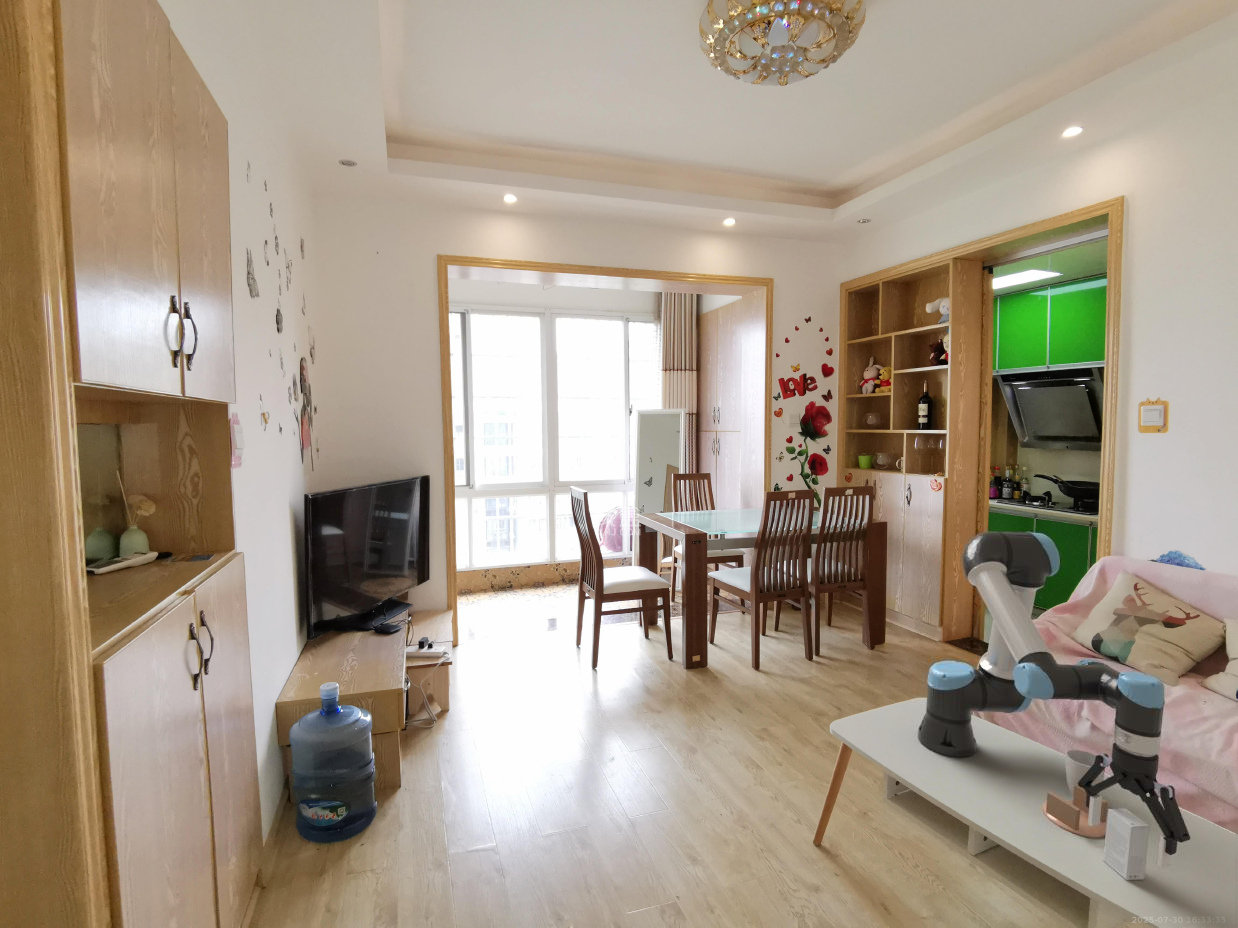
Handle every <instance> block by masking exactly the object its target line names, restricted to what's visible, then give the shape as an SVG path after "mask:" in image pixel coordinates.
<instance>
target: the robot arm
mask: <svg viewBox="0 0 1238 928" xmlns="http://www.w3.org/2000/svg"><path fill="white" fill-rule="evenodd" d="M1060 558H1061V557H1060V553H1059V550H1058V548H1057V546H1056V544H1055V543H1054V541H1053V539H1051V537H1049V536H1047V535H1046V534H1044V533H1040V532H1031V531H1024V532H1023V531H992V530H991V531H989V530H988V531H984V532H981V533H978V534H976V535H974V536H973V537H972V538H971V539H970V540H969V541H968V542H967V543H966V545H965V547H964V548H963V552H962V556H961V564H962V569H963V573H964V575H965V576H966V579H967V581H968V583H969V584H970V585H972V586H974V587H976V590H977V591H978V594H979V595H980V597H981V598H982V601H983V602H984V604H985V605H986V607H987V610H988V612H989V613H990V615H991V618H992V625H991V629H990V630H991V631H990V635H989V642H988V648H987V653H986V656H983V657H981V658H980V659H979V661H978V662H979V664H978V667H977V668H974V667H973V666H972V665H970V664H968V663H966V662H962V661H957V660H942V661H939V662H938V661H937V662H935V663H933V665H931V666H930V668H929V671H928V675H927V680H926V681H927V687H926V688H927V690H926V691H927V692H926V693H927V694H926V707H925V708H926V709H925V714H924V716H923V718H922V720H921V723H920V725H919V726H918V730H917V739H918V741H919V742H920V743H921V744H922V745H923V746H924V747H926V749H929V750H930V751H933V752H934V753H938V754H940V755H945V756H948V757H952V758H953V757H954V758H967V757H971V756H973V755H975V754H976V751H977V739H976V738H975V735H974V730H973V725H972V713H973V712H986V713H987V712H988V713H989V712H990V713H1004V714H1012V713H1022V712H1023V711H1026V710H1027V709H1028V708H1029V707H1031V706H1030V705H1031V704H1032V701H1033V699H1036V700H1042V701H1043V700H1044V701H1049V700H1073V701H1098V702H1102V703H1103V704H1105V705H1106V706H1108V707H1110V708H1111V709H1113V710H1115V714H1114V715H1115V717H1114V727H1113V728H1114V730H1113V739H1112V740H1113V743H1112V750H1111V751H1112V752H1111V758H1110V757H1109V755H1108V754H1107V753H1101V754H1098V755H1097V754H1096V758H1095V762H1094V764H1093V765H1092V767H1091V768H1090V769H1089V770H1088V771H1087V772H1086V773H1085V775H1084V776H1083V777H1082V778H1081V779H1080V780H1079V782H1078V786H1079V787H1081V788H1083V789H1084V790H1085V791H1086V793H1087V796H1086V806H1087V807H1088V808H1089V816H1088V825H1090V826H1094V825H1098V824H1100V815H1101V804H1102V799H1103V796H1102V795H1101V794H1100V793H1101V792H1102V791H1104V790H1107V789H1109V788H1110V787H1113V786H1115V785H1117V784H1118V785H1119V786H1120V788H1122V789H1123V790H1126V791H1129V792H1130V793H1132V794H1133V795H1135V796H1139V797H1140V800H1141V802H1143V803H1144V804H1145V805H1146V806H1147V809H1148V810H1149V812H1150V813H1151V815H1152V817H1153V818H1154V820H1155V822H1156V824H1157V825H1158V827H1159V828H1160V830H1161V831H1162V835H1161V834H1160V835H1159V841H1158V842H1159V845H1158V851H1157V852H1158V853H1157V866H1156V867H1158V868H1159V869H1161V870H1162V869H1165V868H1168V867H1170V866H1171V861H1172V855H1176V853H1177V851H1178V849H1177V848H1178V843H1181V844H1182V843H1185V842H1187V841H1190V840H1191V835H1190V833H1189V830H1188V828H1187V825H1186V823H1185V820H1184V818H1183V815H1182V812H1181V810H1180V808H1179V805H1178V803H1177V800H1176V789H1175V787H1174V786H1173V785H1164V784H1162V783H1160V782H1158V780H1157V774H1158V771H1159V760H1160V757H1159V755H1158V754H1159V753H1160V749H1161V736H1162V727H1163V726H1162V725H1163V717H1164V708H1165V707H1164V706H1165V704H1166V701H1165V685H1164V683H1163V682H1162V681H1161V679H1159V678H1157V677H1155V676H1153V675H1149V674H1146V673H1145V672H1140V671H1134V670H1126V671H1121V672H1120V671H1118V670H1116V669H1114V668H1113V667H1111V666H1109V665H1108V664H1106V663H1104V662H1100V661H1099V660H1096V659H1093V658H1092V659H1091V658H1084V659H1082V660H1080V661H1077V662H1076V663H1075V664H1062V663H1058V662H1057V660H1056V659H1055V658H1054V656H1053V654H1052V653H1051V651H1050V649H1049V647H1048V645H1047V644H1046V642H1045V640H1044V639H1043V637H1042V635H1041V634H1040V632H1039V629H1038V628H1037V626H1036V625H1035V623H1034V621H1033V620H1032V613H1033V609H1034V603H1035V599H1036V593H1037V590H1039V589H1042V588H1044V586H1045V583H1046V578H1047V577H1052V576H1054V575H1055V574H1057V573H1058V571H1059V569H1060V563H1061V562H1060ZM1107 767H1108V768H1110V770H1111V772H1112V774H1113V775H1111V776H1110V777H1106V778H1105V779H1103V781H1102V782H1100V783H1098V784H1096V785H1094V786H1092V785H1091V784H1092V783H1093V781H1094V780H1095V779H1096V778H1097V777H1098V776H1099V775H1100V773H1101V772H1102V771H1103V770H1104V769H1105V770H1106V768H1107ZM1156 790H1157V792H1156ZM1097 793H1098V795H1097ZM1147 794H1148V795H1147ZM1159 797H1160V799H1159Z"/></svg>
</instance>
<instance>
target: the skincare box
mask: <svg viewBox="0 0 1238 928" xmlns="http://www.w3.org/2000/svg"><path fill="white" fill-rule="evenodd" d="M1106 821H1107V827H1106V836H1105V838H1104V839H1105V840H1104V849H1103V859H1102V860H1103V862H1104V863H1106V864H1107V865H1108V866H1109V867H1110V868H1111V869H1113V870H1114V871H1115V872H1116V873H1118V874H1119V875H1120V876H1121V877H1122V878H1123V879H1124V880H1126V881H1134V880H1137V881H1139V880H1145V875H1146V866H1147V864H1146V863H1147V856H1148V844H1149V835H1150V825H1149V824H1147V822H1144V821H1143V820H1141V819H1140V818H1139V817H1138V816H1136V815H1135V814H1134V813H1132V812H1131V811H1129V810H1128V809H1127V808H1107V816H1106Z"/></svg>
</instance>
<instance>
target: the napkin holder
mask: <svg viewBox="0 0 1238 928" xmlns="http://www.w3.org/2000/svg"><path fill="white" fill-rule="evenodd" d="M1086 796H1087V793H1086V791H1085V790H1084V789H1083V788H1081V787H1079V786H1078V785H1075V786H1074V796H1072V797H1073V799H1072V801H1068V800H1066V799H1064V798H1063V797H1061V796H1060V795H1058V794H1056V793H1055V792H1053V791H1049V792H1047V797H1046V801H1045V802H1044V803H1043V805H1042V811H1043V814H1044V816H1045V817H1046V818H1047V820H1049V821H1050V822H1051V823H1053V824H1054V825H1056V826H1058V827H1059V828H1061V829H1063V830H1065V831H1067V832H1070V833H1072V834H1074V835H1077V836H1081V837H1085V838H1094V839H1096V838H1097V839H1099V838H1104V837H1106V827H1107V816H1108V807H1109V806H1108V804H1109V803H1108V802H1109V801H1108V800H1106V799H1104V798H1102V804H1101V815H1100V824H1098V825H1094V826H1090V825H1088V816H1089V808H1088V807H1087V806H1086Z"/></svg>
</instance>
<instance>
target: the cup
mask: <svg viewBox="0 0 1238 928" xmlns="http://www.w3.org/2000/svg"><path fill="white" fill-rule="evenodd" d="M1096 756H1097V754H1094V753H1091V752H1088V751H1086V750H1082V749H1069V750H1067V751H1066V752H1065V775H1066V782H1067V786H1068V789H1069V793H1070V795H1071V796H1072V797H1073V796H1074V786H1075V785H1078V782H1079V780H1080V779H1081V778H1082V777H1083V776H1084V775H1085V773H1086V772H1087V771H1088V770H1089V769H1090V768H1091V767H1092V765H1093V764H1094V762H1095V758H1096ZM1105 770H1106V768H1105V769H1104V770H1103V771H1102V772H1101V773H1100V775H1099V776H1098V777H1097V778H1096V779H1095V780H1094V781H1093V783H1092V784H1091V785H1092V786H1094V785H1096V784H1098V783H1100V782H1102V781H1104V776H1105ZM1098 794H1099V793H1097V795H1098Z"/></svg>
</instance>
